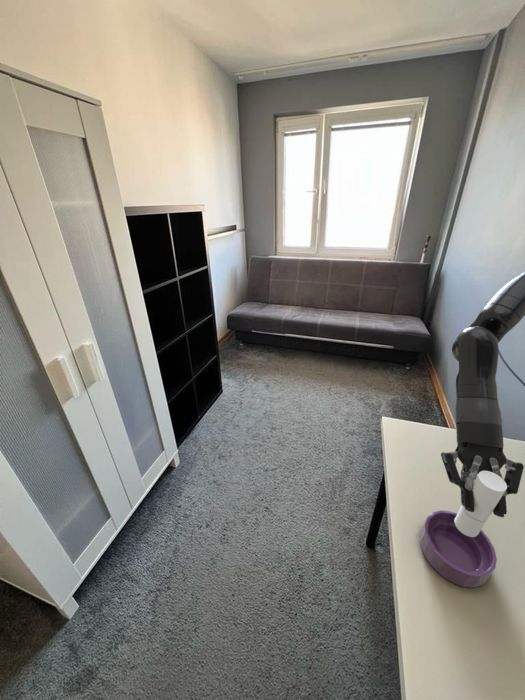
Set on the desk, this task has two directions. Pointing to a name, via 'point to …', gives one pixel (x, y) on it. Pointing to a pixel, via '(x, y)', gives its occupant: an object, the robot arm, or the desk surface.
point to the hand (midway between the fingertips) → (483, 512)
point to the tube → (481, 503)
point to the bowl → (456, 551)
